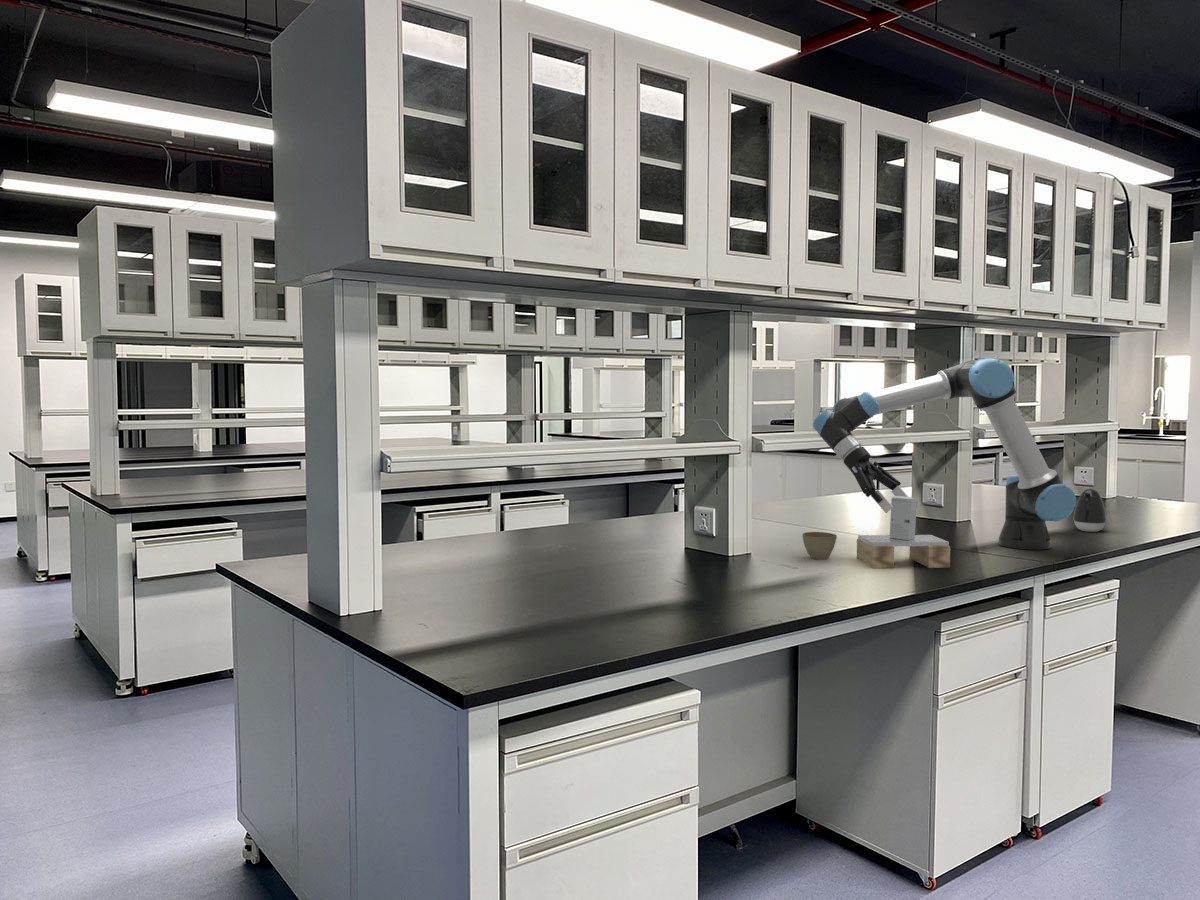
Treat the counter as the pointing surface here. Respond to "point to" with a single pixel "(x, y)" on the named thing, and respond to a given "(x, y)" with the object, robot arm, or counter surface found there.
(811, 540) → the flower pot
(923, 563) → the oak blocks
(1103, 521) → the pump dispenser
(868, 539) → the bridge plate
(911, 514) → the skincare box
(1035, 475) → the robot arm
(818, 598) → the counter surface
